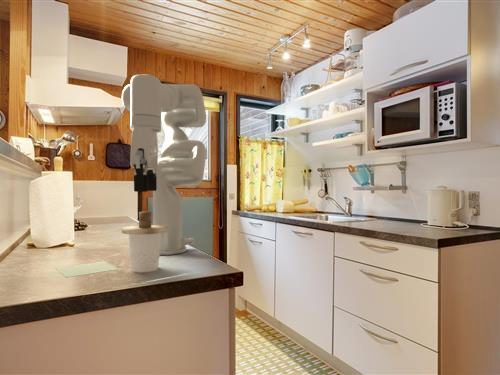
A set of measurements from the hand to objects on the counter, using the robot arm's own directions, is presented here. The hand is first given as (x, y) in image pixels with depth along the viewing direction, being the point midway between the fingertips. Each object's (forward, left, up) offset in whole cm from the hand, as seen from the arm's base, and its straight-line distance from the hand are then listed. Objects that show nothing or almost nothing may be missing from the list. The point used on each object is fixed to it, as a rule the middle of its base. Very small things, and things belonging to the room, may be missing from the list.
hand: (146, 191), depth 81 cm
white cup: (0, 0, -21) cm, 21 cm away
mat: (+11, -10, -20) cm, 25 cm away
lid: (0, 0, -10) cm, 10 cm away
